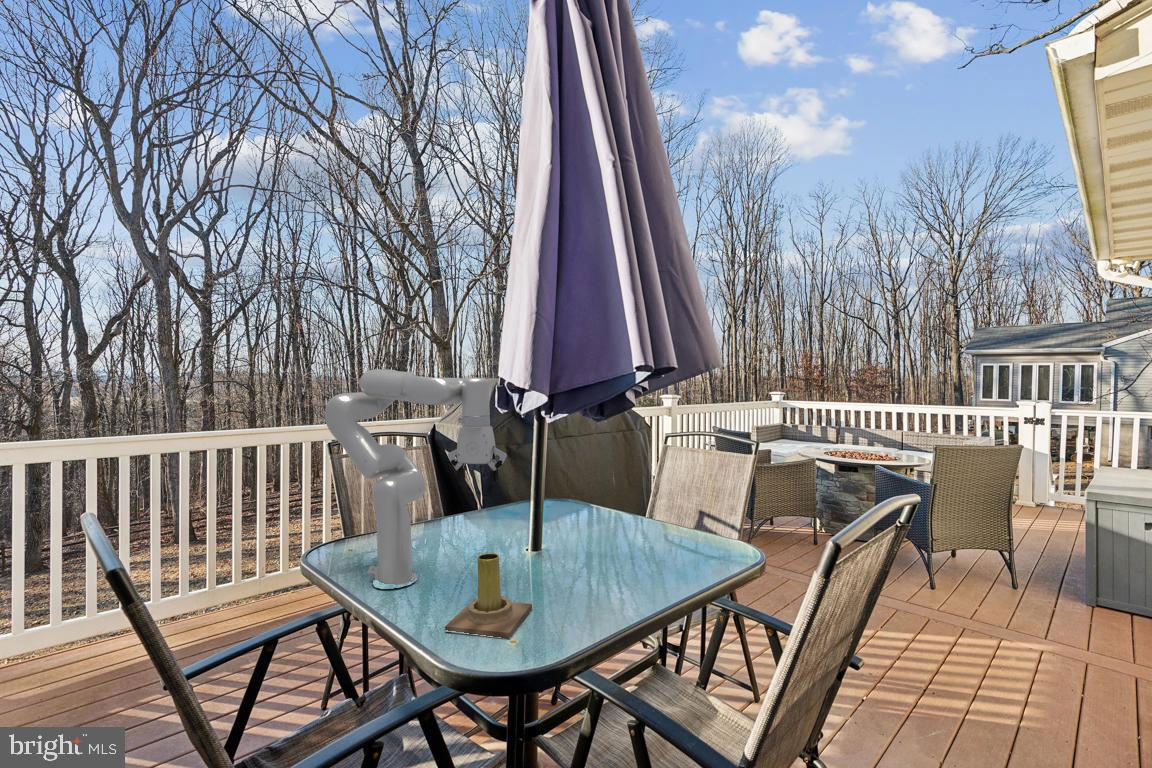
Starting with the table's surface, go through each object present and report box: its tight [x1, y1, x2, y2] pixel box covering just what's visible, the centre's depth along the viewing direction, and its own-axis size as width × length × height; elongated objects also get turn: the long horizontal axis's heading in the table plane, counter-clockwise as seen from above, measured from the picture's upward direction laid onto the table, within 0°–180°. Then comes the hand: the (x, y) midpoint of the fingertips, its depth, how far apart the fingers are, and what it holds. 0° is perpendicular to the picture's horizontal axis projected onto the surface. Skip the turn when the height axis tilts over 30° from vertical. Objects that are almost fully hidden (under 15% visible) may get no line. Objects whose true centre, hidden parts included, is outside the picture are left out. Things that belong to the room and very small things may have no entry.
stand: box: [444, 595, 533, 640], centre depth 131 cm, size 16×16×4 cm
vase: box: [477, 552, 502, 612], centre depth 131 cm, size 6×6×14 cm
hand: (477, 483), depth 149 cm, fingers open, 9 cm apart
